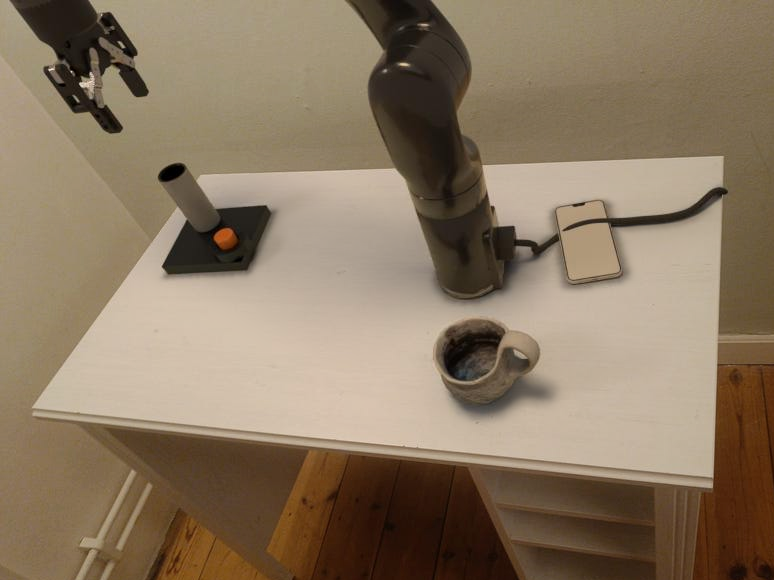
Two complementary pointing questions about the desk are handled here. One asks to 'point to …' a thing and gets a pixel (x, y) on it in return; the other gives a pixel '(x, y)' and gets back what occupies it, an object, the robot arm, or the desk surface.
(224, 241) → the button
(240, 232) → the dark grey flat block
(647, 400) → the desk surface
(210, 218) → the grey cylinder
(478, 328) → the mug
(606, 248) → the smartphone
